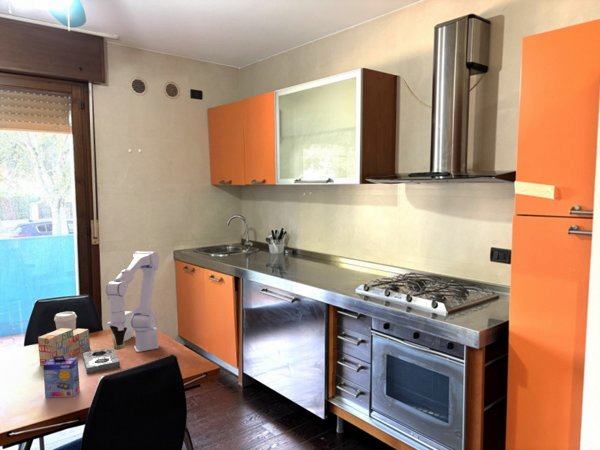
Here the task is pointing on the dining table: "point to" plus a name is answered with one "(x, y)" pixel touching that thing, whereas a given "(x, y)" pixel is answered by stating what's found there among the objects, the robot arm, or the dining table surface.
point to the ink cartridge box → (61, 377)
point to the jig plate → (100, 360)
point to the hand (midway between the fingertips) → (118, 343)
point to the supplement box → (127, 326)
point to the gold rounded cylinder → (118, 345)
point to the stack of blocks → (63, 344)
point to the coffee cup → (65, 320)
